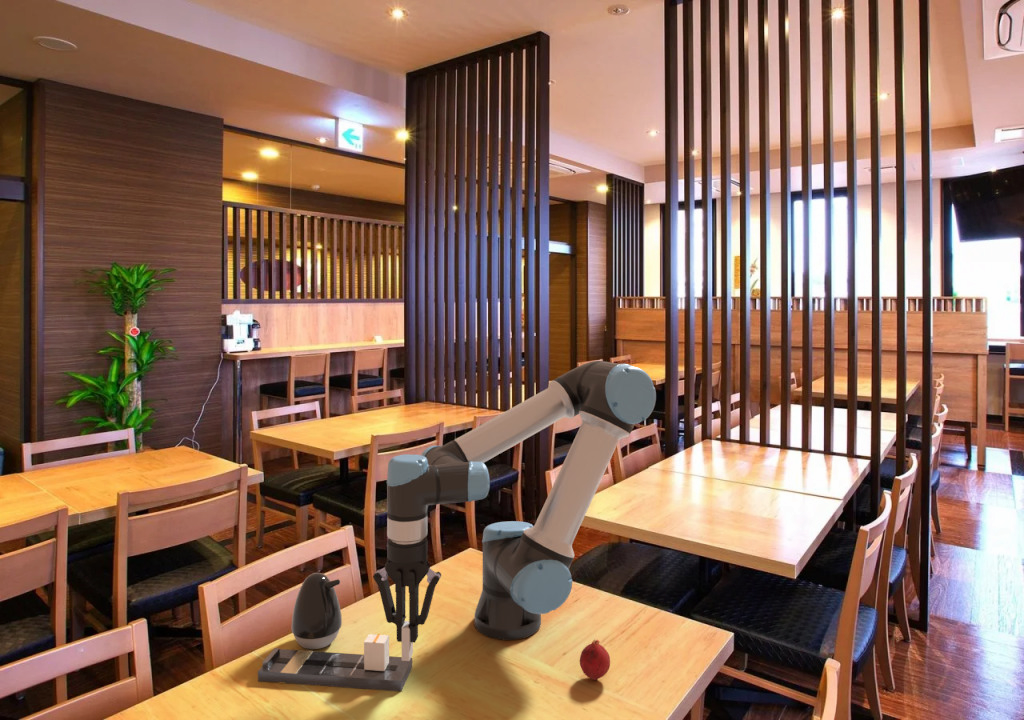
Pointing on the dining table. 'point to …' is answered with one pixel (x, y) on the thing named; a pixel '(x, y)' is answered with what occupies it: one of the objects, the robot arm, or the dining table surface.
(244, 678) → the dining table surface
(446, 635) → the dining table surface
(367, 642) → the fader knob
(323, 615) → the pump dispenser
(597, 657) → the onion
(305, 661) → the console
